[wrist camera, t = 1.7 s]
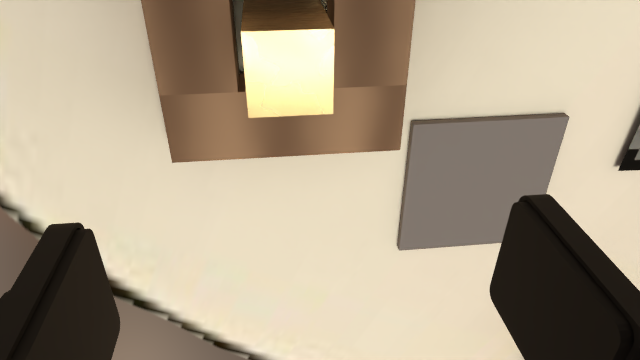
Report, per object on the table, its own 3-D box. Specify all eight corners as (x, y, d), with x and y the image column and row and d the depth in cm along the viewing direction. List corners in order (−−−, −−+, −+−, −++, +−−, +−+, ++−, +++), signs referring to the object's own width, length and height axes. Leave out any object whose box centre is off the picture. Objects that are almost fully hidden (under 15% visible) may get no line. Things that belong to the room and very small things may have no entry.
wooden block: (315, -10, 27) (334, 29, 21) (315, 59, 30) (333, 114, 23) (244, -8, 27) (240, 31, 20) (250, 61, 29) (248, 117, 22)
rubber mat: (564, 113, 34) (569, 116, 33) (528, 235, 40) (531, 240, 39) (411, 120, 33) (413, 124, 32) (397, 245, 38) (399, 250, 38)
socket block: (409, -112, 25) (426, -111, 23) (389, 128, 33) (400, 150, 30) (134, -112, 24) (120, -110, 21) (179, 139, 31) (172, 162, 29)
